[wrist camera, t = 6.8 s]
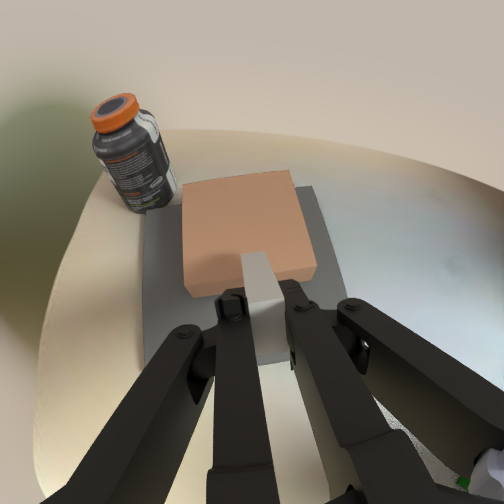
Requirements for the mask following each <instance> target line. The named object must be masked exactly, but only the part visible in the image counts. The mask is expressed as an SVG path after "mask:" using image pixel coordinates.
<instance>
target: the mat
mask: <svg viewBox="0 0 504 504" xmlns="http://www.w3.org/2000/svg"><path fill="white" fill-rule="evenodd" d="M295 191H296V195H297V198H298V201H299V204H300V207H301V211H302V214H303V217H304V221H305V224H306V227H307V231H308V234H309V238H310V241H311V245H312V248H313V252H314V255H315V259H316V263H317V268H316V270H315V272H314V275H313V277H312V279H311V280H310V281H304V282H299V284H300V286H301V287H302V289H303V291H304V292H305V294H306V296H307V297H308V299H309V300H312V301H315V302H316V303H317V304H318V306H319V307H320V309H326V310H335V309H337V304H338V303H339V302H340V301H342V300H344V299H348V297H347V293H346V290H345V286H344V283H343V279H342V276H341V272H340V269H339V266H338V262H337V259H336V256H335V253H334V249H333V246H332V243H331V240H330V237H329V234H328V231H327V228H326V225H325V222H324V219H323V216H322V213H321V210H320V208H319V205H318V202H317V199H316V196H315V194H314V191H313V188H312V186H306V187H296V188H295ZM221 295H222V294H219V295H211V296H204V297H196V298H193V297H192V296H191V294H190V293H189V292H188V290H187V289H186V287H185V286H184V270H183V237H182V204H178V205H173V206H167V207H162V208H157V209H152V210H146V219H145V232H144V250H143V283H142V308H143V340H144V357H145V367H146V365H147V364H148V363H149V361H150V360H151V358H152V357H153V356H154V354H155V353H156V351H157V350H158V349H159V347H160V346H161V344H162V343H163V341H164V340H165V339H166V337H167V336H168V334H169V333H170V332H171V331H172V330H173V329H174V328H176V327H178V326H180V325H184V324H194V325H197V326H199V327H200V329H201V331H203V330H206V329H209V328H212V327H214V326H215V325H217V324H218V318H217V314H216V309H215V304H214V301H215V299H216V298H218V297H219V296H221ZM256 360H257V366H260V365H267V364H273V363H278V362H284V361H289V360H290V348H289V345H288V351H286V352H280V353H274V354H268V355H261V356H256Z"/></svg>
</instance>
